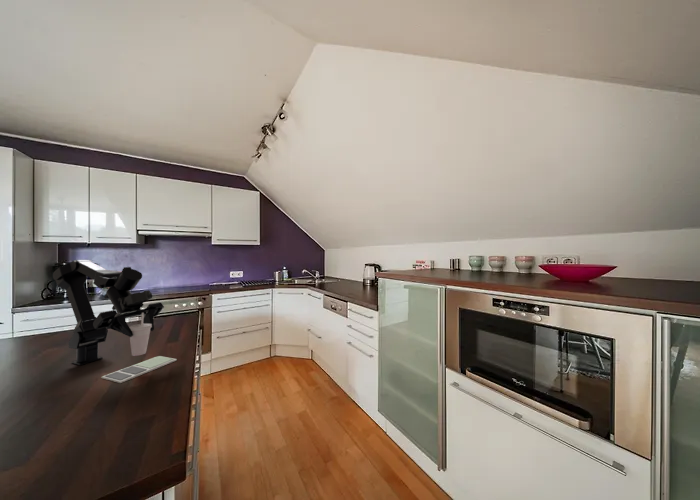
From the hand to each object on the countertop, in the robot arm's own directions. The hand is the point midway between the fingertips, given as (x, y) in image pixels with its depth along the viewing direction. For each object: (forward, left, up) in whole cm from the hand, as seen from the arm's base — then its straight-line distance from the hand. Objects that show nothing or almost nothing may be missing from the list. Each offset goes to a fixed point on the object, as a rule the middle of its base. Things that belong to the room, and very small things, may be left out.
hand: (142, 333), depth 84 cm
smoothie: (-1, 0, -7) cm, 7 cm away
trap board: (-3, +1, -13) cm, 14 cm away
